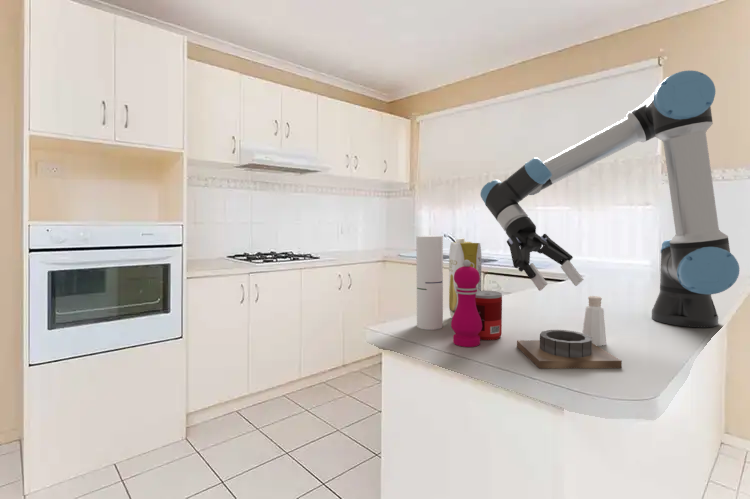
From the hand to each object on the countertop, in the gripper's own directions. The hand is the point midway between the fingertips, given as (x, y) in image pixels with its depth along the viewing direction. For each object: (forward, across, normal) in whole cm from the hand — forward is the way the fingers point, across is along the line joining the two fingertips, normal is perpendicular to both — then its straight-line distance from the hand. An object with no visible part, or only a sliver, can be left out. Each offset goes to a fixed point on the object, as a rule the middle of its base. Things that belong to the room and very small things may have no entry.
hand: (562, 285), depth 105 cm
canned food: (+3, +17, -15) cm, 23 cm away
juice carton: (-8, +11, -26) cm, 30 cm away
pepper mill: (+5, +26, -14) cm, 29 cm away
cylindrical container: (-8, +24, -26) cm, 36 cm away
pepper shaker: (+15, -1, -3) cm, 15 cm away
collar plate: (+17, +14, -1) cm, 22 cm away
